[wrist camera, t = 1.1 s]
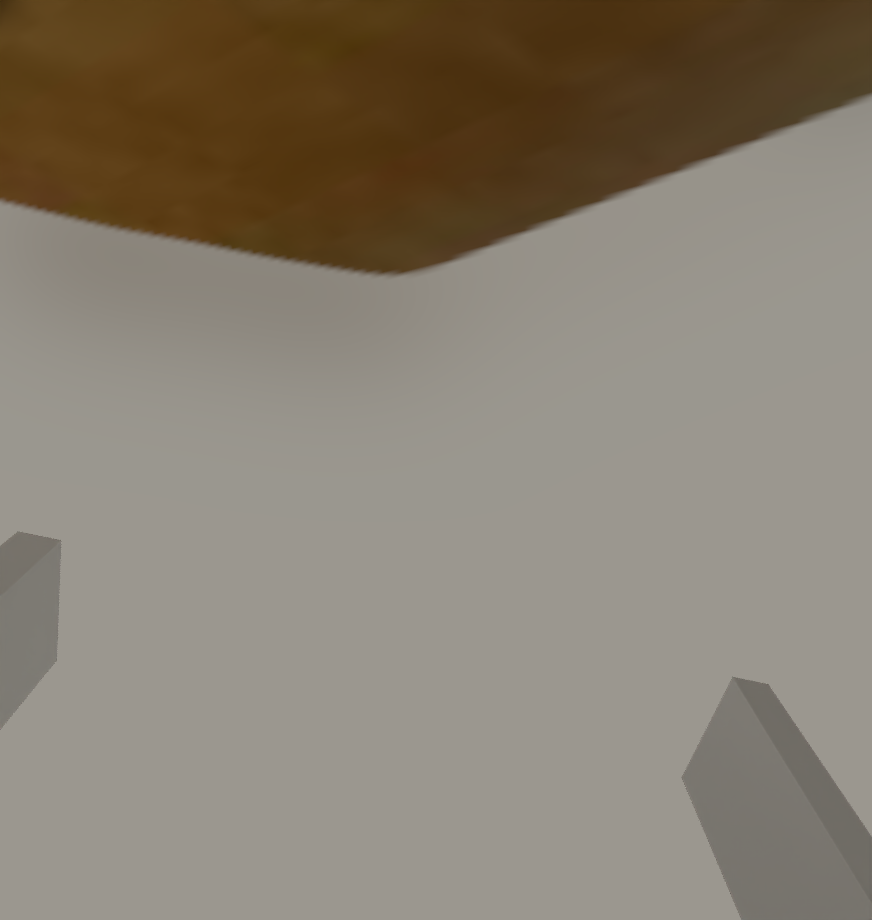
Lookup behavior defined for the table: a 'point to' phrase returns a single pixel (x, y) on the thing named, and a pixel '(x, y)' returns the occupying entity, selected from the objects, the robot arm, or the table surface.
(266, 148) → the table surface
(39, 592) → the robot arm
